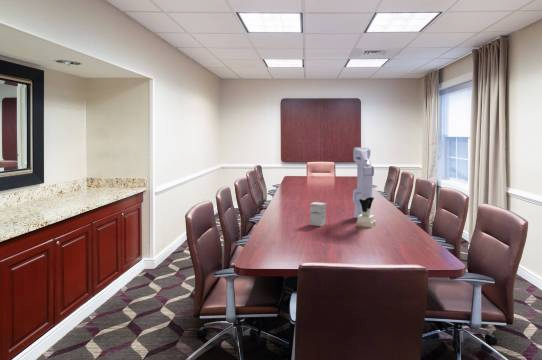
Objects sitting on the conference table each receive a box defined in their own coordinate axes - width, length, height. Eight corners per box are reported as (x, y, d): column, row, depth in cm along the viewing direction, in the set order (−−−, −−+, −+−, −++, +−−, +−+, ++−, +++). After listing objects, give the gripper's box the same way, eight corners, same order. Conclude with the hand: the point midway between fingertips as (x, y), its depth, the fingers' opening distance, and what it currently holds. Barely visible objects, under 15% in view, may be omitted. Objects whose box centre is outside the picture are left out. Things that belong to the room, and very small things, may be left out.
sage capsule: (363, 214, 227) (363, 207, 227) (371, 215, 225) (371, 208, 224) (361, 216, 223) (361, 209, 223) (368, 216, 221) (369, 209, 221)
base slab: (360, 223, 231) (360, 218, 230) (376, 225, 226) (376, 220, 226) (356, 226, 223) (356, 221, 222) (372, 228, 218) (372, 223, 218)
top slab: (361, 219, 229) (361, 214, 229) (373, 220, 226) (374, 215, 226) (357, 221, 223) (357, 216, 223) (370, 222, 219) (370, 217, 219)
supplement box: (309, 225, 225) (309, 203, 223) (314, 222, 231) (314, 201, 230) (321, 226, 221) (321, 204, 220) (326, 224, 228) (326, 202, 226)
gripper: (363, 185, 230) (363, 208, 232) (356, 188, 218) (355, 212, 219) (375, 186, 227) (374, 209, 228) (369, 189, 214) (368, 213, 216)
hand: (366, 210), depth 224 cm, fingers open, 7 cm apart
